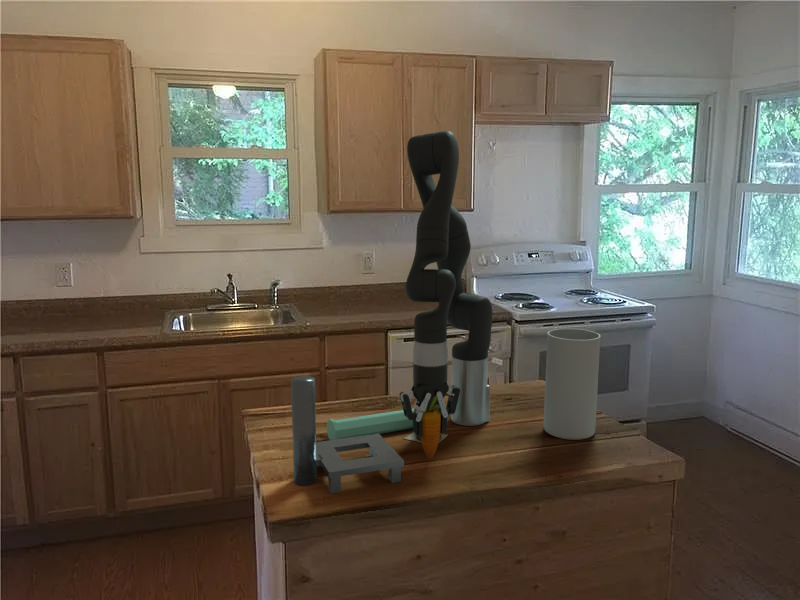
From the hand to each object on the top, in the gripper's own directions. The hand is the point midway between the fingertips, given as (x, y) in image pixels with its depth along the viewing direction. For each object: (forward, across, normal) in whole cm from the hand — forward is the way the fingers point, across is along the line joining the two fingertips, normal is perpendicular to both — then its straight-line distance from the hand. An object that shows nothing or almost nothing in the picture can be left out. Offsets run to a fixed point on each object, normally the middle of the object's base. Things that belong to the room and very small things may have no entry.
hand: (429, 433), depth 147 cm
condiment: (+7, -5, -13) cm, 15 cm away
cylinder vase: (+7, -40, -4) cm, 40 cm away
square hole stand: (+6, +20, 0) cm, 21 cm away
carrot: (+6, 0, 0) cm, 6 cm away
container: (+7, +5, -20) cm, 22 cm away
